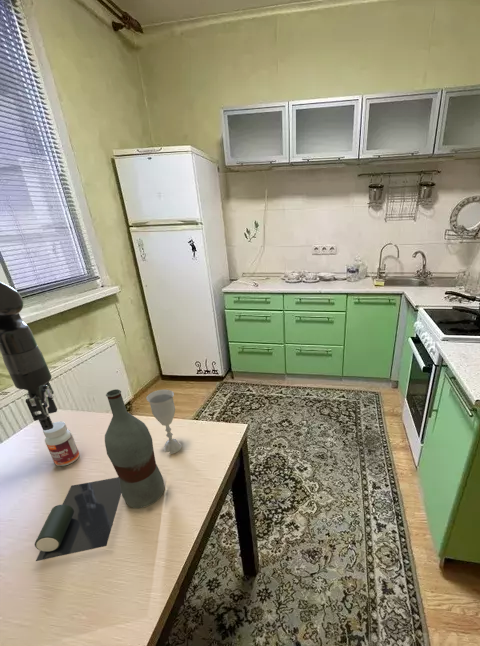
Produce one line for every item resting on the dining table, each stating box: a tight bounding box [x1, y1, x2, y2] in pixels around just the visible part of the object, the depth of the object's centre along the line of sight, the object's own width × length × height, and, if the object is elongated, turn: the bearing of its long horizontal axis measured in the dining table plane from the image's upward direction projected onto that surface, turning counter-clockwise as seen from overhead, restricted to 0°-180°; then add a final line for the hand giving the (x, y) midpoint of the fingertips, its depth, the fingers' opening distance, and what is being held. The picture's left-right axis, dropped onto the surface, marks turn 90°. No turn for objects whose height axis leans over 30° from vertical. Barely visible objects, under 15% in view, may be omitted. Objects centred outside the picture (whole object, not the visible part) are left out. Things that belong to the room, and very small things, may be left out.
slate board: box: [35, 476, 122, 562], centre depth 74 cm, size 13×20×2 cm, turn 13°
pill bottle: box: [42, 421, 80, 467], centre depth 90 cm, size 6×6×11 cm
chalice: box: [145, 389, 183, 455], centre depth 91 cm, size 7×7×18 cm
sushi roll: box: [34, 504, 74, 552], centre depth 68 cm, size 4×8×4 cm, turn 14°
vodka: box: [104, 389, 165, 509], centre depth 72 cm, size 9×9×30 cm
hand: (51, 420), depth 86 cm, fingers open, 8 cm apart
